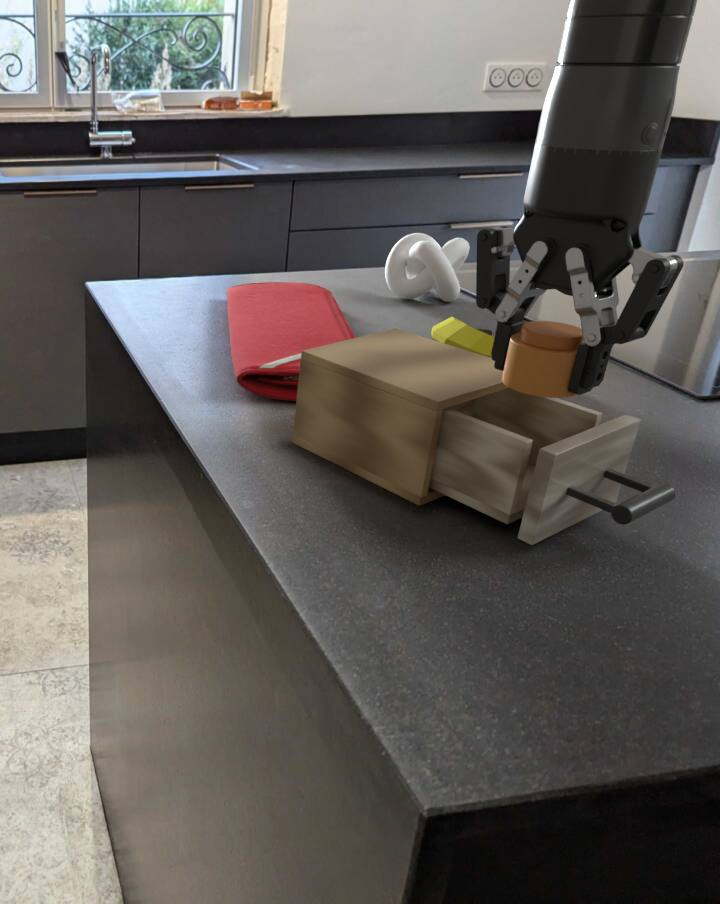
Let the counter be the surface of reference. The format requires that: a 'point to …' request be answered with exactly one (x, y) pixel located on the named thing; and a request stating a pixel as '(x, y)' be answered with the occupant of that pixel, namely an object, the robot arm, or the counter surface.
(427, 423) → the cabinet
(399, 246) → the white knot sculpture
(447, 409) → the drawer
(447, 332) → the banana
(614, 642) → the counter surface
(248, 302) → the dish drying mat
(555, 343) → the orange lidded jar
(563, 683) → the counter surface
